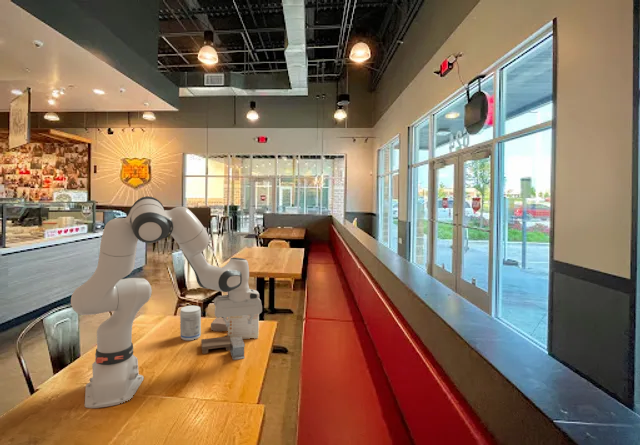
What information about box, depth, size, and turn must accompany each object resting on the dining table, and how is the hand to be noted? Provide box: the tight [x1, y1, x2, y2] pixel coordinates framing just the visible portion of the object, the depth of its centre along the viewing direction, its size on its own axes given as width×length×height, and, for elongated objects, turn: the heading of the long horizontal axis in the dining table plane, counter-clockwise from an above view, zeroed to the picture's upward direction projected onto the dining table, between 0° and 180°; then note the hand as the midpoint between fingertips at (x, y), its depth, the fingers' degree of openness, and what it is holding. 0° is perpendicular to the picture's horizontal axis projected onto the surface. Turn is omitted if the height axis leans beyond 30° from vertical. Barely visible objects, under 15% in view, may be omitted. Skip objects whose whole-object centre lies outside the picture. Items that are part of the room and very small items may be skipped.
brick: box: [210, 317, 228, 332], centre depth 187 cm, size 17×8×5 cm, turn 86°
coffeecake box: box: [227, 314, 260, 340], centre depth 177 cm, size 15×7×20 cm, turn 98°
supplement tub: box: [179, 305, 202, 341], centre depth 174 cm, size 10×10×15 cm
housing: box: [229, 336, 246, 361], centre depth 157 cm, size 9×5×6 cm, turn 22°
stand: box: [200, 335, 230, 355], centre depth 164 cm, size 9×13×3 cm
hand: (238, 324), depth 155 cm, fingers open, 8 cm apart
